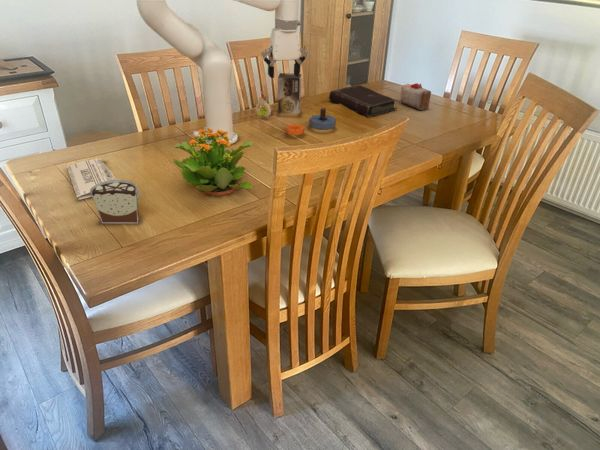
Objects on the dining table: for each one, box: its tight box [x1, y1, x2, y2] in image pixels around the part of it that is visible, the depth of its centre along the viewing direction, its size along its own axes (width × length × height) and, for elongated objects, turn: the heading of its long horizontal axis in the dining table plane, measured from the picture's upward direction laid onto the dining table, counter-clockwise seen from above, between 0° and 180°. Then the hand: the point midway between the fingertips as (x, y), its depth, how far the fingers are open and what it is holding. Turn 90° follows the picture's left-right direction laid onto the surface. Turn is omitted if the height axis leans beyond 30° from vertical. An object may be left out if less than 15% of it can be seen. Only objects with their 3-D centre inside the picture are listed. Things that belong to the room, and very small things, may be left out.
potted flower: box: [172, 128, 254, 197], centre depth 135 cm, size 25×24×18 cm
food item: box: [400, 82, 432, 111], centre depth 208 cm, size 14×8×10 cm, turn 33°
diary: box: [328, 84, 399, 118], centre depth 207 cm, size 19×25×5 cm
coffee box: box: [277, 72, 302, 115], centre depth 193 cm, size 9×6×16 cm
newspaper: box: [66, 157, 117, 201], centre depth 142 cm, size 23×12×2 cm, turn 30°
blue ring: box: [308, 114, 337, 131], centre depth 182 cm, size 10×10×2 cm
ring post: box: [309, 107, 336, 131], centre depth 182 cm, size 10×10×8 cm
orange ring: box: [285, 124, 305, 136], centre depth 177 cm, size 6×6×3 cm
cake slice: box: [89, 178, 141, 225], centre depth 122 cm, size 12×6×10 cm, turn 92°
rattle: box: [255, 90, 272, 118], centre depth 190 cm, size 8×8×12 cm
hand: (283, 76), depth 168 cm, fingers open, 9 cm apart
